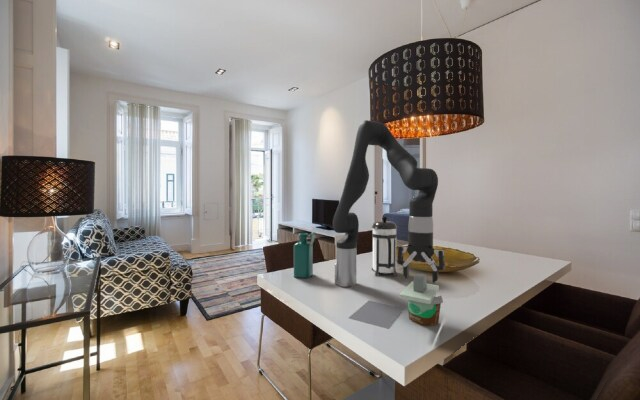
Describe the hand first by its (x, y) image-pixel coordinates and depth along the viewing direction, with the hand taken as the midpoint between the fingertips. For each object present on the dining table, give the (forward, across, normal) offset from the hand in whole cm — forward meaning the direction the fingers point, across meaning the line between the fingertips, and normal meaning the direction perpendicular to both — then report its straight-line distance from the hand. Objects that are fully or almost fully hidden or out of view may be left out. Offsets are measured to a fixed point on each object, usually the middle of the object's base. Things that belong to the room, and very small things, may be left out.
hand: (420, 279), depth 91 cm
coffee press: (+15, +28, -47) cm, 57 cm away
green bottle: (+15, +62, -22) cm, 67 cm away
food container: (+15, 0, 0) cm, 15 cm away
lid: (+4, 0, 0) cm, 4 cm away
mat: (+14, +14, +1) cm, 20 cm away
